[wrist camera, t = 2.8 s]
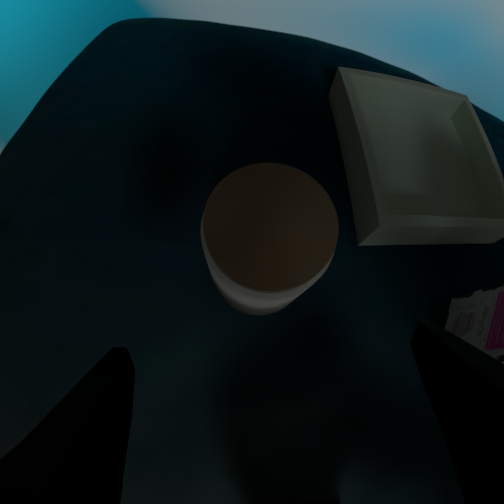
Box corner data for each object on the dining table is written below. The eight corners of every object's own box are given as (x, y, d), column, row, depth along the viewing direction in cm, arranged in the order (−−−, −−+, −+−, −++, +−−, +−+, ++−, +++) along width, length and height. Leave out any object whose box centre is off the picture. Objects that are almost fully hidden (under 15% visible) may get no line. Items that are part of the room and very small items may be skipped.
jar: (307, 313, 21) (350, 290, 13) (211, 316, 21) (197, 295, 13) (300, 224, 23) (332, 160, 15) (211, 225, 23) (200, 160, 15)
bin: (492, 243, 24) (518, 228, 20) (357, 245, 23) (379, 225, 19) (449, 117, 28) (466, 95, 24) (328, 96, 27) (338, 66, 23)
